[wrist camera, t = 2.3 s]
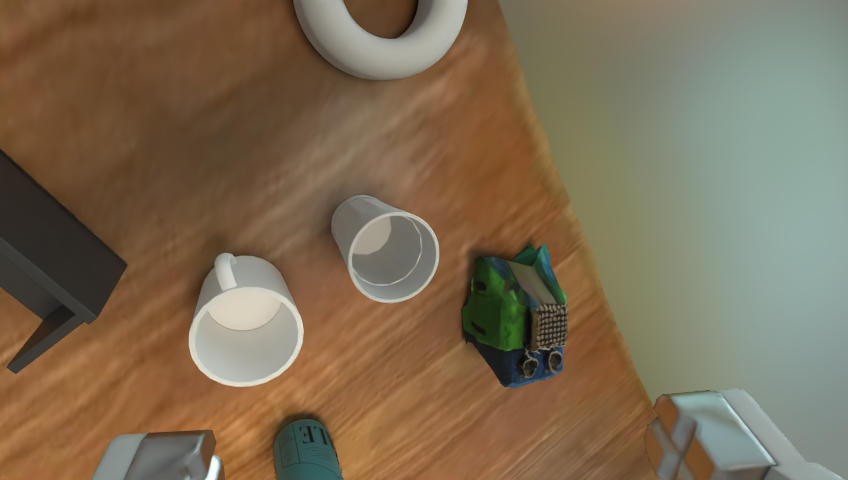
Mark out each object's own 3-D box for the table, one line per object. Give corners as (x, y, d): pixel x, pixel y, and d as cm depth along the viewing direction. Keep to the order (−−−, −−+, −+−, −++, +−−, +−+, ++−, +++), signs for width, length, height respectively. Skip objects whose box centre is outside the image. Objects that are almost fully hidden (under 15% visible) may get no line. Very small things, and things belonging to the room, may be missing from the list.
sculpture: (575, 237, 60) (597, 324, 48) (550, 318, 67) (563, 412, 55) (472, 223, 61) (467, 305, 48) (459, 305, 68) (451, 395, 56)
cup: (411, 215, 55) (456, 245, 44) (367, 274, 55) (402, 319, 44) (353, 171, 52) (387, 193, 41) (307, 234, 52) (328, 273, 41)
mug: (301, 315, 54) (316, 362, 44) (215, 346, 51) (212, 403, 42) (267, 218, 50) (276, 248, 40) (172, 248, 47) (159, 286, 38)
